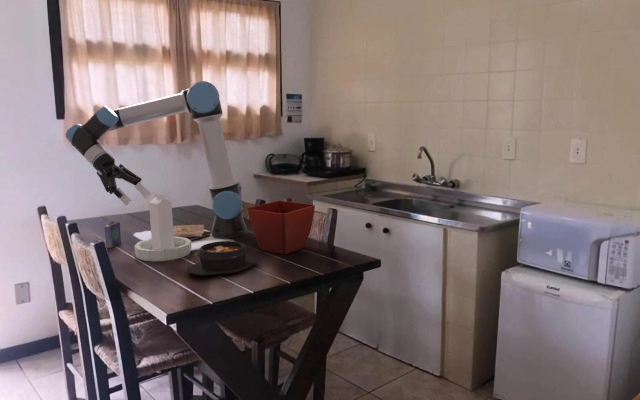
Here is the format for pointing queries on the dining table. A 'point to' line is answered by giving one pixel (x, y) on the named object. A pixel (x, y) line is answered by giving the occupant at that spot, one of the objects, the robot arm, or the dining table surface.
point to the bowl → (163, 250)
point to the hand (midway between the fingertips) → (139, 199)
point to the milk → (161, 223)
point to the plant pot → (281, 225)
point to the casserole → (222, 259)
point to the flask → (112, 234)
